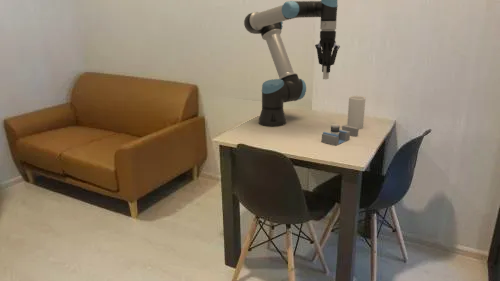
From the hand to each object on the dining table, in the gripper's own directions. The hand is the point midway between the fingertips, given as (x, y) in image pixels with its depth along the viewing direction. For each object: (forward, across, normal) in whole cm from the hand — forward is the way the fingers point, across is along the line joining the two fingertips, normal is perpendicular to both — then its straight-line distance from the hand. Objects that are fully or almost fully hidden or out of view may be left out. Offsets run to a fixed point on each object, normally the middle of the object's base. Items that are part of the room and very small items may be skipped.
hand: (325, 78), depth 201 cm
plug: (+26, +15, -13) cm, 33 cm away
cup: (+27, +10, +15) cm, 32 cm away
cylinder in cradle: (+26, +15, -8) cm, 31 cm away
